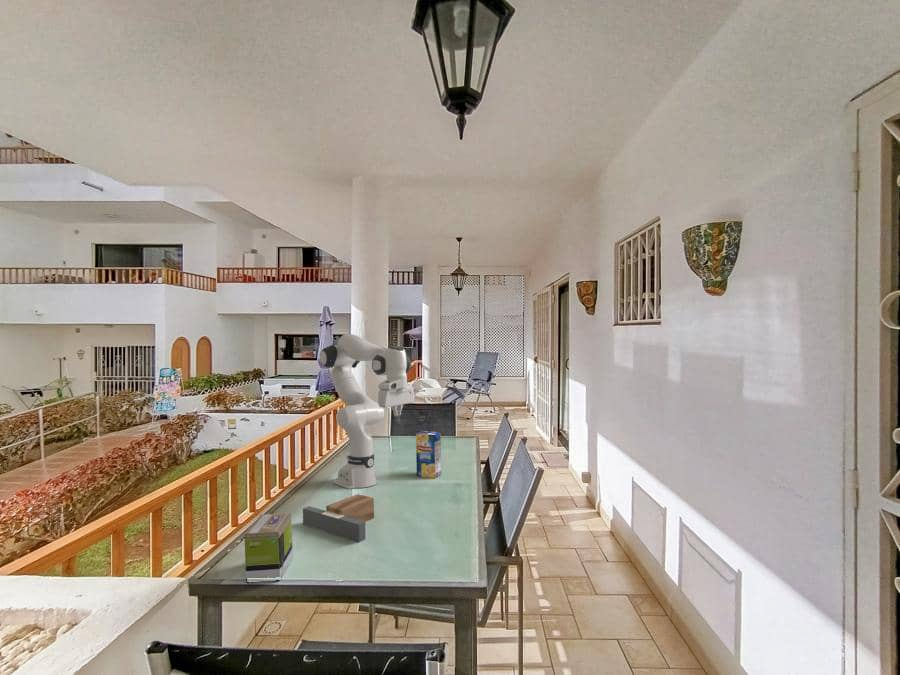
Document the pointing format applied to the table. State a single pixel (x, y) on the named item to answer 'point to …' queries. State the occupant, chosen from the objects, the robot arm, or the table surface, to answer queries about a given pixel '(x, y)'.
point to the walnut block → (354, 507)
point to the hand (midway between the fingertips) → (397, 415)
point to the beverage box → (428, 454)
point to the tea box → (268, 546)
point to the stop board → (334, 523)
